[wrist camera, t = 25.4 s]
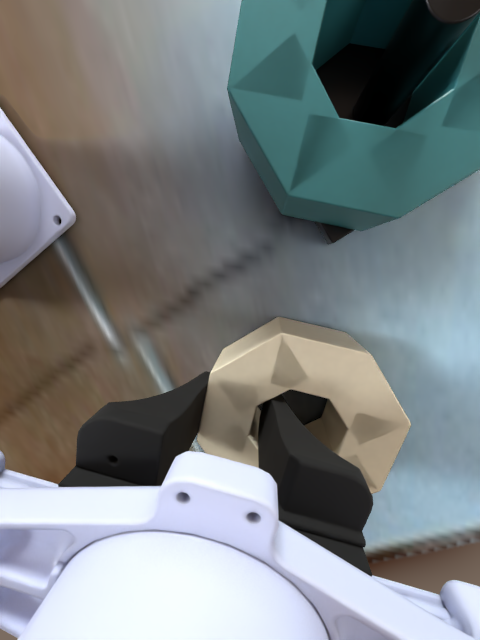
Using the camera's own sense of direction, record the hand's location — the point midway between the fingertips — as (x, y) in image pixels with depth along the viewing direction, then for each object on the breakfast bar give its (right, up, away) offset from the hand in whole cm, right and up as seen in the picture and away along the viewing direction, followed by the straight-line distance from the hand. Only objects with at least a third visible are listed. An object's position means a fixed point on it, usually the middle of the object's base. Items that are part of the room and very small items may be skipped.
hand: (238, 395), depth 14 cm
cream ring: (+3, 0, +1) cm, 3 cm away
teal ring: (+5, +14, -3) cm, 15 cm away
